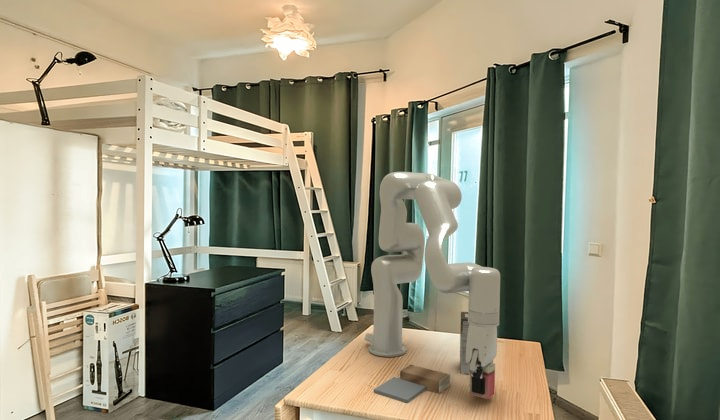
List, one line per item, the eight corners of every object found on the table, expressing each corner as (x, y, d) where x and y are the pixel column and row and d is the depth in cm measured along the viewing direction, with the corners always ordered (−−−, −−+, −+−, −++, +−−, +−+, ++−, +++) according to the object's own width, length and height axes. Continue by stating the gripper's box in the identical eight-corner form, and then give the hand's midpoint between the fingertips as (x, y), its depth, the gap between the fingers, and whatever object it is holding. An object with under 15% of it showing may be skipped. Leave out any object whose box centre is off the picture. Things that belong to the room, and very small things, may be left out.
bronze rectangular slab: (399, 381, 120) (400, 370, 120) (410, 374, 125) (410, 364, 125) (440, 393, 113) (440, 381, 113) (449, 385, 118) (450, 374, 118)
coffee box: (459, 362, 135) (460, 310, 135) (480, 364, 134) (481, 312, 133) (460, 373, 126) (461, 318, 126) (483, 375, 125) (484, 320, 124)
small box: (468, 394, 109) (469, 362, 109) (476, 388, 113) (476, 358, 113) (488, 400, 106) (488, 368, 106) (495, 394, 110) (495, 363, 109)
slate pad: (373, 392, 113) (373, 389, 113) (393, 379, 121) (393, 377, 121) (407, 403, 107) (407, 399, 107) (426, 389, 115) (426, 386, 115)
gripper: (481, 308, 118) (479, 375, 119) (455, 321, 104) (454, 397, 105) (509, 312, 114) (507, 382, 114) (486, 327, 100) (484, 406, 100)
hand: (482, 388), depth 109 cm, fingers closed on small box, 4 cm apart
